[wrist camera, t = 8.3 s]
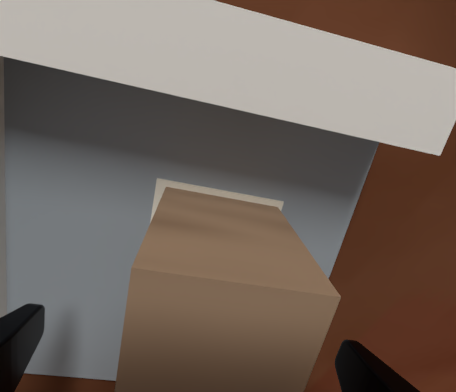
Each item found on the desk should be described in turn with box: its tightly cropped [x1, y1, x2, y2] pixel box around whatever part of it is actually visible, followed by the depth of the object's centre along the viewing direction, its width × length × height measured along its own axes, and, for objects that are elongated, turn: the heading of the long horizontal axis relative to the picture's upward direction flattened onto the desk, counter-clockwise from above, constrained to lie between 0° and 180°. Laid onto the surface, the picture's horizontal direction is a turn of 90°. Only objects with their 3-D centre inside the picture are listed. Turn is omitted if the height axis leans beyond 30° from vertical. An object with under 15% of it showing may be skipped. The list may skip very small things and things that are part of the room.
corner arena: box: [0, 0, 456, 381], centre depth 9 cm, size 14×14×3 cm
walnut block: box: [114, 187, 341, 392], centre depth 9 cm, size 7×4×5 cm, turn 168°
